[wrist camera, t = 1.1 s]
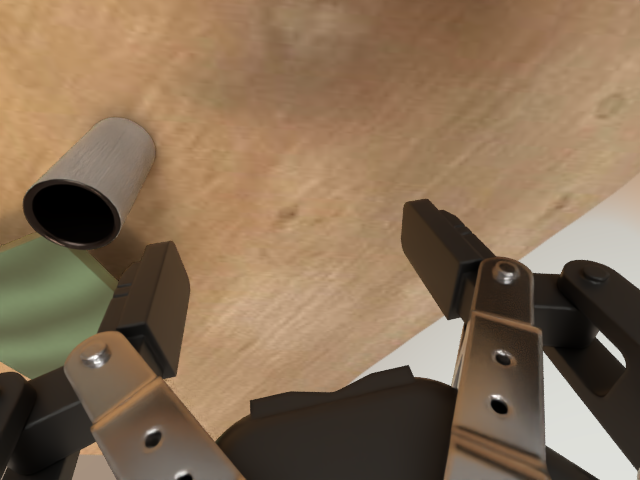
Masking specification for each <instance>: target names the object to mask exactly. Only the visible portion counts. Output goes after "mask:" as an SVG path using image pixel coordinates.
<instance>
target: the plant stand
mask: <svg viewBox="0 0 640 480" xmlns="http://www.w3.org/2000/svg"><path fill="white" fill-rule="evenodd" d="M117 284H118V281H117V280H116V279H115V278H114V277H113V276H112V275H111V274H110V273H109V272H108V271H107V270H106V269H105V268H104V267H103V266H102V265H101V264H100V263H99V262H98V261H97V260H96V259H95V258H94V257H93V256H92V255H91V254H90V253H89V252H88V251H87V250H77V249H70V248H66V247H63V246H60V245H57V244H55V243H52V242H51V241H49V240H47V239H45V238H44V237H42V236H41V235H40V234H38V233H37V232H35V233H32V234H30V235H27V236H25V237H22V238H20V239H17V240H15V241H12V242H10V243H7V244H5V245H2V246H0V362H2V363H4V364H5V365H7V366H9V367H11V368H12V369H14V370H16V371H18V372H19V373H21V374H23V375H24V376H26V377H28V378H30V379H31V380H32V379H34V378H36V377H39V376H41V375H43V374H46V373H48V372H50V371H53V370H55V369H57V368H59V367H62V366H64V363H65V361H66V358H67V357H68V355H69V354H70V353H71V351H72V350H73V349H74V348H75V347H76V346H77V345H78V344H80V343H81V342H82V341H84V340H85V339H87V338H89V337H91V336H93V335H95V334H97V331H98V329H99V327H100V324H101V322H102V320H103V317H104V315H105V313H106V310H107V308H108V306H109V303H110V301H111V299H113V294H114V292H115V289H116V288H117Z"/></svg>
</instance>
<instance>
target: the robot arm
mask: <svg viewBox="0 0 640 480" xmlns="http://www.w3.org/2000/svg"><path fill="white" fill-rule="evenodd" d="M401 244H402V248H403V251H404V254H405V255H406V257H407V258H408V260H409V261H410V263H411V264H412V266H413V268H414V269H415V271H416V272H417V274H418V275H419V277H420V278H421V280H422V281H423V283H424V284H425V286H426V288H427V289H428V291H429V292H430V294H431V295H432V297H433V298H434V300H435V301H436V303H437V304H438V306H439V308H440V309H441V311H442V312H443V314H444V315H445V317H446V318H447V320H451V319H455V318H460V317H461V318H462V320H463V321H464V326H463V329H462V335H461V340H460V345H459V350H458V355H457V360H456V365H455V370H454V375H453V380H452V384H451V386H449V385H447V384H445V383H442V382H439V381H435V380H432V379H427V378H421V377H414V376H413V374H412V372H411V369H410V367H409V365H407V366H402V367H398V368H393V369H389V370H384V371H380V372H375V373H371V374H369V375H367V376H365V377H363V378H361V379H359V380H357V381H356V382H353V383H352V384H350V385H348V386H346V387H344V388H342V389H340V390H338V391H335V392H292V391H290V392H286V393H281V394H277V395H273V396H268V397H264V398H259V399H255V400H250V414H249V415H247V416H246V417H244V418H242V419H241V420H239V421H238V422H236V423H235V424H233V425H232V426H231V427H230V428H229V429H227V430H226V431H225V432H224V433H223V434H222V435H221V436H220V437H219V438H218V439H217V440H216V441H214V440H213V439H212V438H211V437H210V435H209V434H208V433H207V432H206V431H205V429H204V428H203V427H202V426H201V425H200V423H199V422H198V421H197V420H196V419H195V417H194V416H193V415H192V414H191V413H190V411H189V410H188V409H187V408H186V406H185V405H184V404H183V403H182V402H181V400H180V399H179V398H178V397H177V396H176V394H175V393H174V392H173V391H172V390H171V388H170V387H169V386H168V385H167V384H166V382H165V381H164V380H163V379H166V378H171V377H175V376H176V374H177V368H178V362H179V356H180V350H181V344H182V338H183V332H184V326H185V320H186V314H187V308H188V302H189V296H190V283H189V278H188V275H187V273H186V270H185V268H184V265H183V263H182V260H181V258H180V255H179V253H178V251H177V248H176V246H175V244H174V242H173V241H167V242H161V243H155V244H149V245H147V246H146V248H145V251H144V253H143V256H142V259H141V261H139V262H133V263H132V264H131V265H130V266H129V267H128V268H127V269H126V270H125V271H124V272H123V273H122V275H121V277H120V280H119V282H118V284H117V288H116V289H115V292H114V294H113V299H111V301H110V303H109V306H108V308H107V310H106V313H105V315H104V317H103V320H102V322H101V324H100V327H99V329H98V331H97V334H95V335H93V336H91V337H89V338H87V339H85V340H84V341H82V342H81V343H80V344H78V345H77V346H76V347H75V348H74V349H73V350H72V351H71V353H70V354H69V355H68V357H67V358H66V361H65V363H64V366H62V367H59V368H57V369H55V370H53V371H50V372H48V373H46V374H43V375H41V376H39V377H36V378H34V379H32V380H30V381H27V380H25V379H24V378H23V377H22V376H21V375H20V374H19V373H16V372H5V373H0V480H1V478H2V475H3V473H4V471H5V469H6V466H7V470H6V472H5V474H4V476H3V479H2V480H72V477H73V473H74V470H75V467H76V463H77V460H78V456H79V453H80V450H81V449H83V448H85V447H87V446H89V445H91V444H93V443H94V442H97V444H98V446H99V448H100V450H101V451H102V453H103V455H104V457H105V459H106V461H107V462H108V464H109V466H110V468H111V470H112V472H113V474H114V475H115V477H116V479H117V480H599V479H597V478H596V477H594V476H593V475H591V474H590V473H588V472H587V471H585V470H583V469H582V468H580V467H579V466H577V465H576V464H574V463H572V462H571V461H569V460H568V459H566V458H565V457H563V456H562V455H560V454H558V453H557V452H555V451H554V450H552V449H551V448H549V447H547V446H546V445H545V415H544V381H543V379H544V377H543V351H544V353H545V354H546V355H547V356H548V358H549V359H550V360H551V361H552V363H553V364H554V365H555V367H556V368H557V369H558V370H559V372H560V373H561V374H562V376H563V377H564V378H565V379H566V380H567V382H568V383H569V384H570V386H571V387H572V388H573V390H574V391H575V392H576V393H577V395H578V396H579V397H580V398H581V400H582V401H583V402H584V404H585V405H586V406H587V407H588V409H589V410H590V411H591V412H592V414H593V415H594V416H595V417H596V419H597V420H598V421H599V423H600V424H601V425H602V426H603V428H604V429H605V430H606V432H607V433H608V434H609V435H610V437H611V438H612V439H613V441H614V442H615V443H616V444H617V446H618V447H619V448H620V449H621V450H622V452H623V453H624V455H625V456H626V457H627V458H628V460H629V461H630V462H631V463H632V465H633V466H634V467H635V468H636V470H637V471H638V474H637V480H640V290H639V289H638V288H637V287H635V286H634V285H633V284H632V283H630V282H629V281H628V280H626V279H625V278H624V277H623V276H621V275H620V274H619V273H617V272H616V271H615V270H613V269H611V268H610V267H607V266H605V265H603V264H600V263H597V262H593V261H588V260H574V261H570V262H568V263H567V264H565V266H564V268H563V270H562V272H561V274H540V273H532V272H531V270H530V269H529V268H528V267H527V266H525V265H524V264H522V263H520V262H518V261H516V260H513V259H510V258H506V257H496V256H495V255H494V254H493V253H492V252H491V251H490V250H489V249H488V248H487V247H486V246H485V245H484V244H483V243H482V242H481V241H480V240H479V239H478V238H477V237H476V236H475V235H474V234H472V232H471V231H470V230H469V229H468V228H467V227H465V225H464V224H463V223H462V222H461V221H460V220H459V219H458V218H457V217H456V216H455V215H453V214H451V213H449V212H447V211H445V210H438V209H437V208H436V207H435V206H434V205H433V204H432V203H431V202H430V201H429V200H428V199H421V200H415V201H409V202H406V203H405V204H404V208H403V220H402V232H401ZM599 330H600V331H601V332H602V333H603V334H604V335H605V336H606V337H607V338H608V339H609V340H610V341H611V342H612V343H613V344H614V345H615V346H616V347H617V348H618V349H619V351H620V352H621V353H622V355H623V357H624V358H625V362H626V368H625V367H624V366H623V365H622V364H621V363H620V362H619V361H618V360H617V359H616V358H615V357H614V356H613V355H612V354H611V353H610V352H609V351H608V350H607V349H606V348H605V346H604V345H603V344H602V343H601V342H600V341H599V340H598V339H597V338H596V335H597V333H598V332H599Z"/></svg>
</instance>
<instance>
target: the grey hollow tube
mask: <svg viewBox="0 0 640 480" xmlns="http://www.w3.org/2000/svg"><path fill="white" fill-rule="evenodd" d="M155 153H156V150H155V145H154V142H153V140H152V138H151V137H150V135H149V134H148V133H147V131H146V130H145V129H144V128H142V127H141V126H140V125H138V124H137V123H135V122H133V121H131V120H128V119H124V118H119V117H112V118H107V119H104V120H102V121H100V122H98V123H97V124H96V125H94V126H93V127H92V128H91V129H90V130H89V131H88V132H87V133H86V134H85V135H84V136H83V137H82V138H81V139H80V140H79V141H78V142H77V143H76V144H75V145H74V146H73V147H72V148H71V149H70V150H69V151H67V152H66V153H65V154H64V155H63V156H62V157H61V158H60V159H59V160H58V161H57V162H56V163H55V164H54V165H53V166H52V167H51V168H50V169H49V170H48V171H47V172H46V173H45V174H44V175H43V176H42V177H41V178H40V179H39V180H38V181H37V182H36V183H34V184H33V185H32V186H31V187H30V189H29V190H28V191H27V192H26V194H25V196H24V199H23V211H24V215H25V217H26V219H27V221H28V223H29V224H30V225H31V227H32V228H33V229H34V230H35V231H36V232H37V233H38V234H40V235H41V236H42V237H44V238H45V239H47V240H49V241H51V242H52V243H55V244H57V245H60V246H63V247H66V248H70V249H77V250H92V249H97V248H101V247H103V246H106V245H108V244H109V243H111V242H112V241H113V240H114V239H115V238H116V237H117V236H118V234H119V232H120V230H121V228H122V226H123V224H124V222H125V220H126V218H127V216H128V214H129V212H130V210H131V208H132V206H133V204H134V202H135V200H136V197H137V195H138V193H139V191H140V189H141V187H142V185H143V183H144V181H145V179H146V177H147V175H148V173H149V171H150V168H151V166H152V164H153V162H154V159H155Z"/></svg>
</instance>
